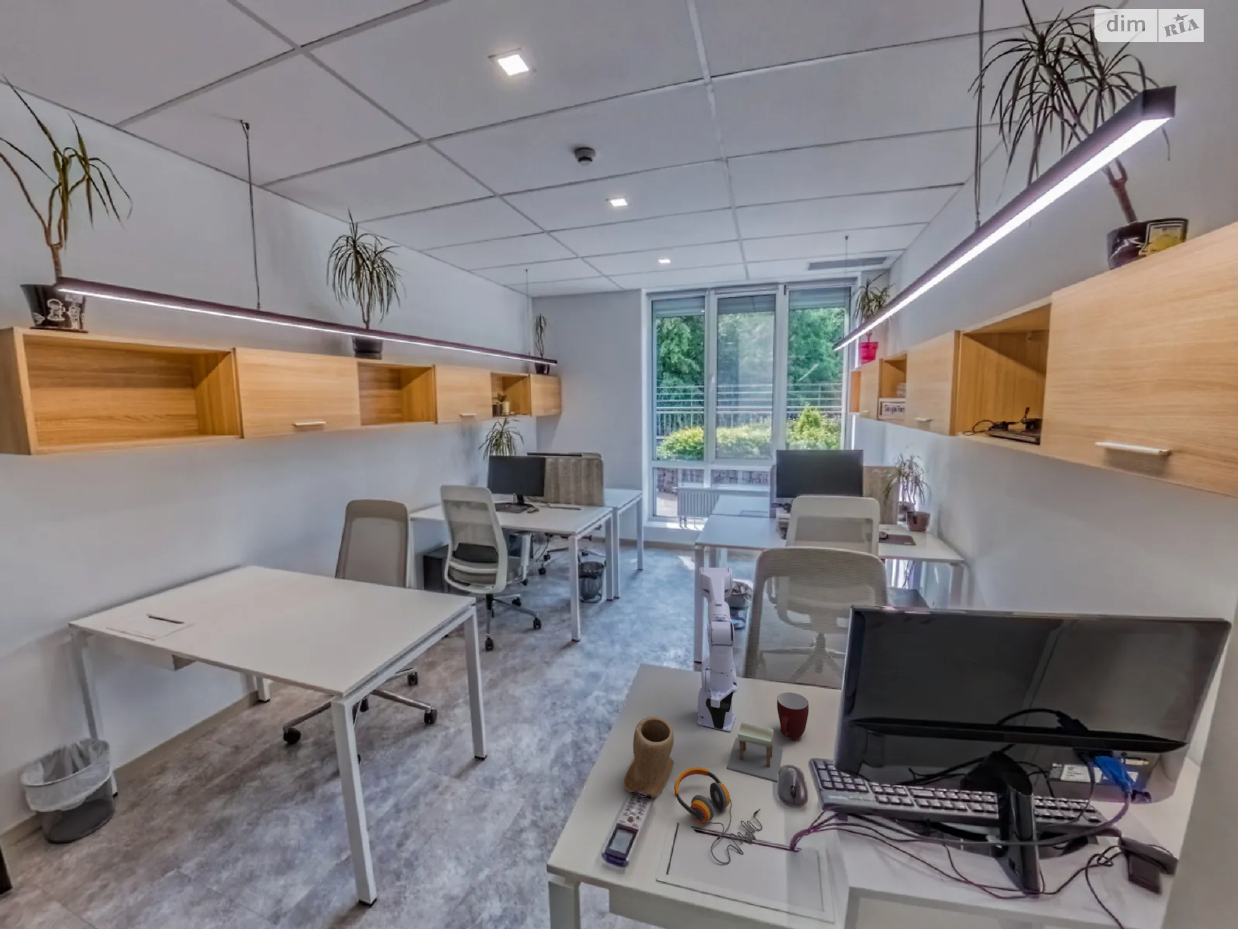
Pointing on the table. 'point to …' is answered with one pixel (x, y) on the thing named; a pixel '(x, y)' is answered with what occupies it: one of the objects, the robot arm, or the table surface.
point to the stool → (755, 739)
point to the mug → (792, 714)
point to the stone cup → (650, 756)
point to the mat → (755, 761)
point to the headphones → (704, 808)
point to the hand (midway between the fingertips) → (722, 719)
